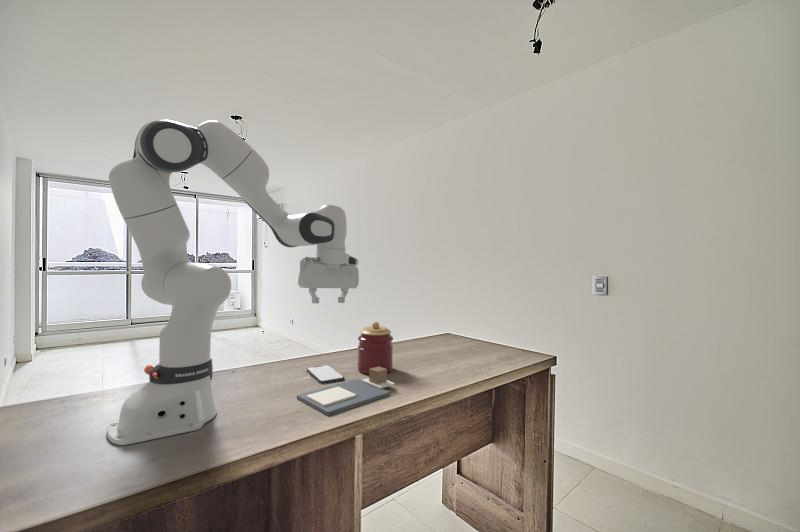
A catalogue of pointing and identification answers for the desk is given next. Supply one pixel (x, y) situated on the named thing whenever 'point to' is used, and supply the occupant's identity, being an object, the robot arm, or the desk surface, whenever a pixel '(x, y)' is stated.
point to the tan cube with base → (378, 378)
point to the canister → (375, 348)
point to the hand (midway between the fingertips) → (328, 303)
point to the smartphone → (325, 374)
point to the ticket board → (342, 396)
